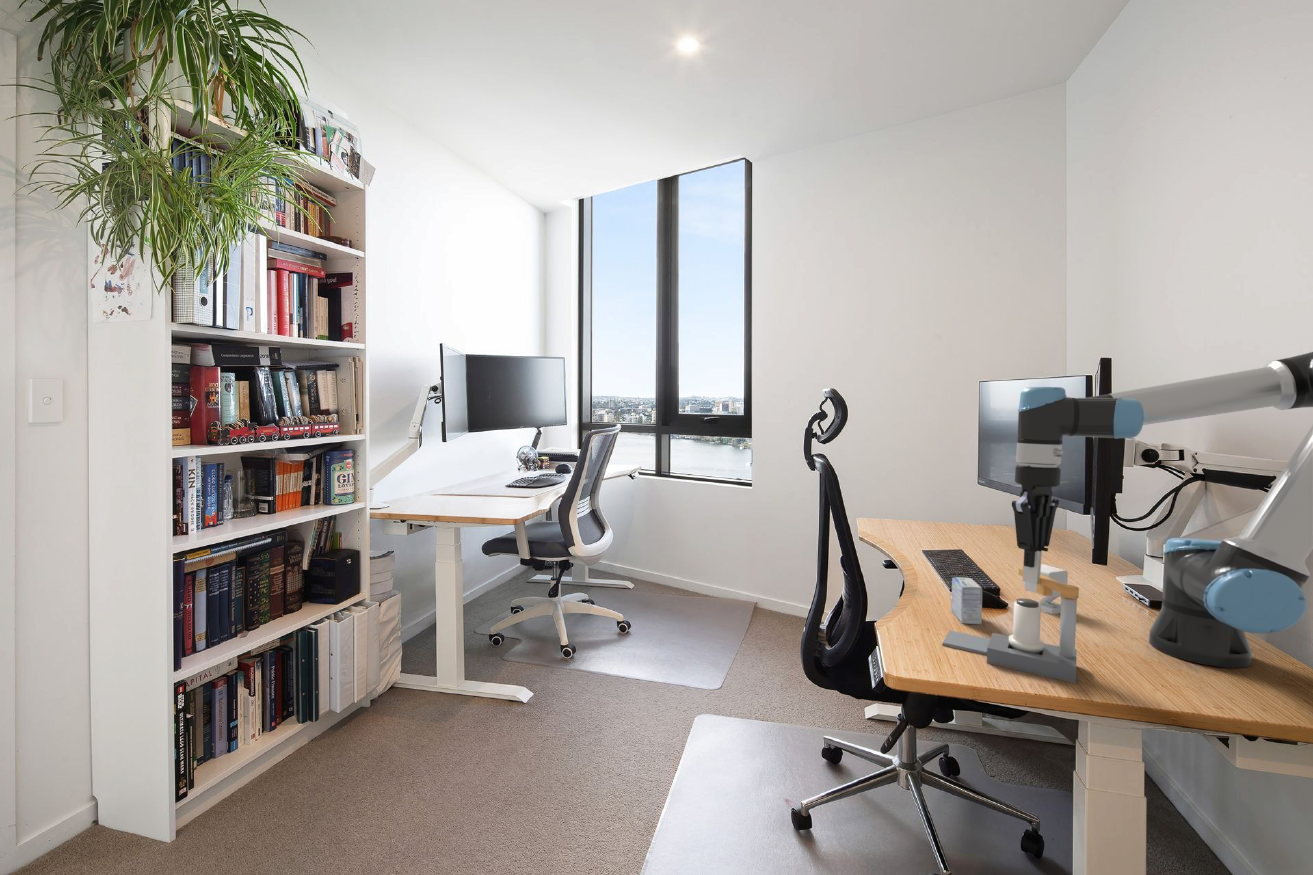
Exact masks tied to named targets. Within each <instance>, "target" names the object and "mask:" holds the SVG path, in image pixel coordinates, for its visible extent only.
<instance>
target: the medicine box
mask: <svg viewBox="0 0 1313 875" xmlns="http://www.w3.org/2000/svg"><path fill="white" fill-rule="evenodd" d="M950 606H951V608H950V609H951V611H950V612H951V613H952V614H954V616H955V617H956V618H957V620H959V621H960V623H961V624H964V625H965V624H966V625H978V626H979V625H982V624H983V623H982V622H983V621H982V620H983V617H982V615H983V588H982V587H981V586H980V584H978V583H977V582H976V581H975V580H973V579H972V578H970V577H959V576H958V577H957V576H956V577H952V579H951V605H950Z"/></svg>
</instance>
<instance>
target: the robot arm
mask: <svg viewBox="0 0 1313 875" xmlns="http://www.w3.org/2000/svg"><path fill="white" fill-rule="evenodd" d="M1018 404H1019V405H1018V409H1017V412H1018V418H1017V419H1018V420H1017V436H1016V437H1017V438H1016V439H1017V441H1016V451H1015V452H1016V454H1015V462H1016V463H1018V464H1017V465H1016V466H1015V470H1014V471H1015V472H1014V473H1015V474H1014V481H1015V483H1016V484H1018V485H1021V487H1020V488H1021V489H1020V492H1019V497H1020V498H1019V499H1018V500H1012V501H1011V507H1012V510H1013V516H1014V524H1015V525H1014V526H1015V536H1016V537H1015V538H1016V546H1017V547H1018V549H1021V550H1023V566H1022V569H1023V576H1022V579H1021V580H1022V582H1024V583H1025V582H1028V583H1032V584H1036V585H1037V584H1040V574H1041V564H1042V555H1043V554H1042V552H1046V553H1047V552H1048V550H1049V548H1048V547H1049V546H1050V542H1051V537H1052V532H1053V527H1054V522H1055V517H1056V511H1057V508H1058V506H1059V504H1060V500H1059V499H1057V498H1053V489H1052V488H1054V487H1059V486H1060V484H1061V476H1062V475H1061V472H1062V469H1060V467H1058V466H1059V465H1061V464H1062V455H1063V454H1064V450H1063V439H1064V436H1065V437H1086V438H1088V437H1089V438H1103V439H1104V438H1105V439H1106V438H1107V439H1110V438H1111V439H1112V438H1113V439H1115V440H1117V439H1133V438H1136V437H1137V436H1139V435H1140V433H1141V431H1142V430H1143V426H1147V425H1154V424H1160V423H1161V424H1162V423H1166V422H1167V423H1168V422H1174V421H1180V420H1181V421H1182V420H1187V419H1194V418H1201V417H1202V418H1203V417H1208V416H1216V415H1221V414H1229V413H1236V412H1243V411H1249V410H1256V409H1263V408H1270V407H1273V408H1275V409H1277V410H1280V411H1285V410H1293V409H1300V408H1313V351H1311V352H1308V353H1303V354H1299V355H1295V356H1291V357H1286V358H1282V359H1281V358H1280V359H1275V360H1270V361H1268V362H1266V363H1265V365H1264V366H1263V367H1260V368H1259V367H1257V368H1253V369H1247V370H1242V371H1236V372H1230V373H1224V374H1219V375H1218V374H1217V375H1212V376H1206V377H1201V378H1195V379H1188V380H1182V381H1176V382H1171V383H1165V384H1159V385H1154V386H1147V387H1141V388H1136V389H1128V390H1125V391H1119V392H1112V393H1108V394H1100V395H1094V396H1089V397H1077V398H1076V397H1070V396H1068V397H1067V394H1066V389H1065V388H1064V387H1059V386H1056V387H1055V386H1032V387H1031V386H1030V387H1026V388H1024V389H1022V390H1021V392H1020V397H1019V403H1018ZM1312 551H1313V424H1312V425H1311V427H1310V428H1309V430H1308V431H1307V433H1306V434H1305V436H1304V437H1303V439H1302V440H1301V442H1300V443H1299V445H1298V446H1297V448H1296V449H1295V451H1294V452H1293V454H1292V455H1291V457H1290V459H1288V462H1287V463H1286V464H1285V466H1284V467H1283V469H1282V471H1281V472H1280V474H1279V475H1278V477H1277V478H1276V479H1275V481H1274V483H1273V484H1272V485H1271V488H1270V489H1269V490H1268V491H1267V493H1266V495H1265V496H1264V498H1263V499H1262V501H1261V502H1260V504H1259V505H1258V507H1257V508H1256V510H1255V511H1254V513H1253V515H1252V516H1251V517H1250V519H1249V520H1248V522H1247V523H1246V525H1245V527H1244V528H1243V530H1241V532H1240V534H1239V535H1236V536H1232V537H1228V538H1223V539H1222V540H1216V539H1214V540H1213V539H1206V538H1205V539H1201V538H1189V537H1188V538H1187V537H1172V538H1169V539H1167V541H1166V542H1165V548H1164V550H1163V553H1162V554H1163V577H1162V579H1163V580H1162V602H1161V609H1160V611H1159V612H1158V614H1157V616H1156V618H1155V619H1154V622H1153V624H1152V626H1151V627H1150V630H1149V634H1148V635H1149V638H1148V641H1149V644H1150V645H1151V646H1152V647H1154V648H1155V649H1156V650H1158V651H1161V652H1162V653H1164V654H1167V655H1170V656H1173V657H1175V658H1178V659H1180V660H1185V661H1188V662H1191V663H1195V664H1196V663H1197V664H1200V665H1205V666H1211V667H1217V668H1218V667H1219V668H1226V669H1227V668H1229V669H1230V668H1231V669H1239V668H1240V669H1242V668H1247V667H1249V666H1251V665H1252V659H1253V658H1252V655H1253V652H1252V649H1251V647H1250V644H1249V641H1248V638H1247V635H1246V633H1251V634H1257V635H1259V634H1260V635H1265V634H1273V633H1279V632H1282V631H1285V630H1287V629H1290V628H1291V627H1293V626H1295V625H1296V624H1297V623H1298V622H1299V621H1300V620H1301V619H1302V618H1303V616H1304V615H1305V612H1306V608H1307V600H1306V598H1305V595H1304V592H1303V590H1302V588H1303V586H1304V585H1305V584H1306V583H1307V581H1308V579H1309V578H1310V576H1311V573H1310V571H1309V569H1308V567H1307V565H1306V559H1307V558H1308V556H1309V555H1310V554H1311V552H1312ZM1245 632H1246V633H1245Z"/></svg>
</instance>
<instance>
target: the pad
mask: <svg viewBox="0 0 1313 875" xmlns="http://www.w3.org/2000/svg"><path fill="white" fill-rule="evenodd" d="M990 639H991V638H989V637H984V636H979V635H975V634H968V633H965V632H959V631H954V630H949V631H948V633H947V634H946V636H945V637H944V639H943V641H942V646H945V647H949V648H953V649H959V650H962V651H967V652H972V653H976V654H981V655H984V656H987V647H988V645H989V642H990Z"/></svg>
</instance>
